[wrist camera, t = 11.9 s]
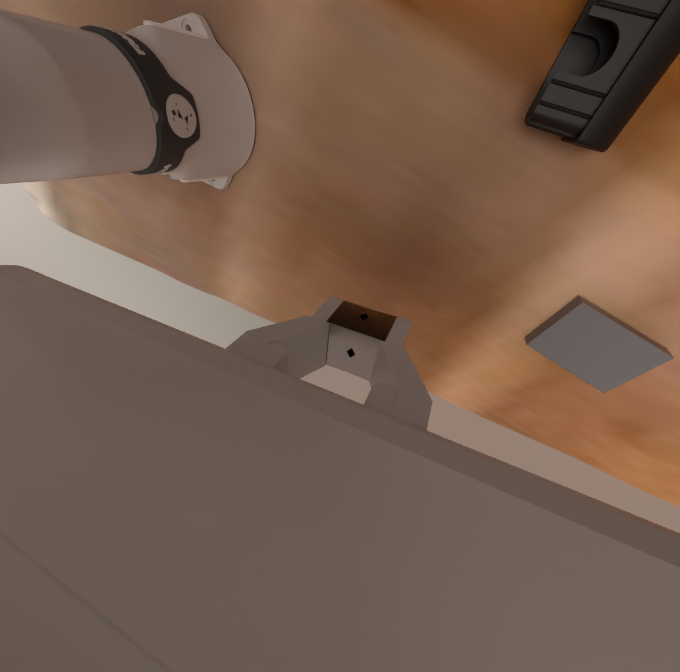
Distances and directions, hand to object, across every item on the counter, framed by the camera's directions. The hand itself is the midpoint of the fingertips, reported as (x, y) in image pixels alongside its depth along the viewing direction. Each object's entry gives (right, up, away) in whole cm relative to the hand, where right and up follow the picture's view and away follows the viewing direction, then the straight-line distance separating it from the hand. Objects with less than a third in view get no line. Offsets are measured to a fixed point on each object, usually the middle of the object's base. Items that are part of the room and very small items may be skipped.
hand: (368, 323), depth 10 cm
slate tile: (+26, +2, +26) cm, 37 cm away
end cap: (+21, +23, +14) cm, 34 cm away
